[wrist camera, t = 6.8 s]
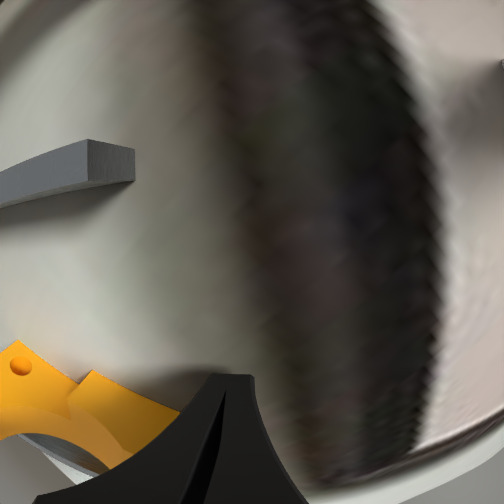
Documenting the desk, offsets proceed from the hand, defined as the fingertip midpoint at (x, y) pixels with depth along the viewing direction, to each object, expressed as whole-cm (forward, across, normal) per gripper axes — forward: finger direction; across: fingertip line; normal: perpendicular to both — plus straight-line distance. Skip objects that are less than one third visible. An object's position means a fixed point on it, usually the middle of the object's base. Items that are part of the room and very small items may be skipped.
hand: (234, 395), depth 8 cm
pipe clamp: (+1, +7, +3) cm, 8 cm away
